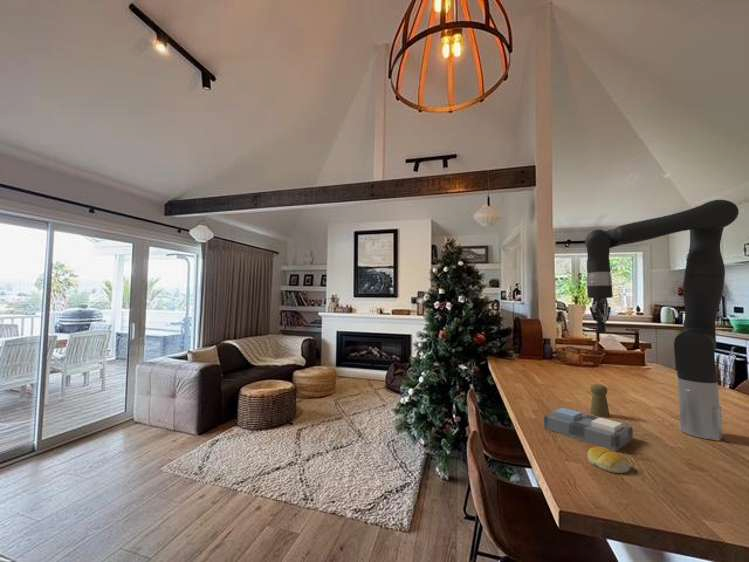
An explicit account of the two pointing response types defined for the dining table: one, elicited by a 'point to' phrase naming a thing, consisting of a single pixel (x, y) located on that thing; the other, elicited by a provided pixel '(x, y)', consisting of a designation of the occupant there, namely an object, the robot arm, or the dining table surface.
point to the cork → (599, 401)
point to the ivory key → (606, 425)
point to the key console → (589, 431)
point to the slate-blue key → (568, 414)
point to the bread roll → (608, 460)
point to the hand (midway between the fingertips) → (601, 332)
